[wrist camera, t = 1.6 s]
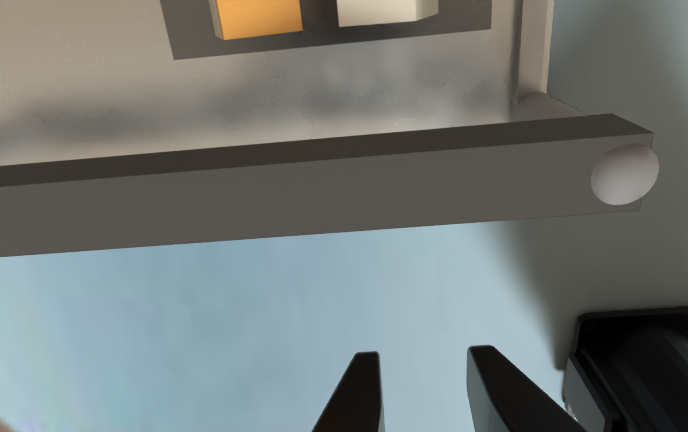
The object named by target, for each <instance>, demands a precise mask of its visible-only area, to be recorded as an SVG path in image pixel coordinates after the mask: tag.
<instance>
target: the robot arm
mask: <svg viewBox="0 0 688 432" xmlns="http://www.w3.org/2000/svg"><path fill="white" fill-rule="evenodd" d="M590 322H592V323H591V324H590V325H587V326H586V324H588V323H590ZM467 392H468V398H469V403H470V408H471V413H472V418H473V423H474V428H475V432H688V307H680V308H663V309H647V310H630V311H613V312H597V313H586V314H583V315H581V316H580V317H579V318H578V319H577V322H576V328H575V335H574V342H573V349H572V353H570V355H569V356H568V359H567V367H566V374H565V381H564V389H563V393H564V396H565V398H566V399H565V409H566V411H567V412H566V411H565V410H564V409H563V408H562V407H560V406H559V405H558V404H557V403H556V402H555V401H554V400H553V399H552V398H550V397H549V396H548V395H547V394H546V393H545V392H544V391H543V390H542V389H540V388H539V387H538V386H537V385H536V384H535V383H534V382H533V381H532V380H530V379H529V378H528V377H527V376H526V375H525V374H524V373H523V372H521V371H520V370H519V369H518V368H517V367H516V366H515V365H514V364H513V363H511V362H510V361H509V360H508V359H507V358H506V357H505V356H504V355H503V354H501V353H500V352H499V351H498V350H497V349H496V348H495V347H493V346H491V345H478V346H470V347H469V348H468V351H467ZM573 417H576V419H577V421H578V422H577V421H576V420H575V419H574V418H573ZM312 432H385V423H384V408H383V394H382V381H381V368H380V356H379V353H378V352H376V351H370V352H358V353H356V354H355V355H354V357H353V359H352V360H351V362H350V364H349V366H348V368H347V369H346V371H345V373H344V375H343V377H342V378H341V380H340V382H339V384H338V385H337V387H336V389H335V391H334V393H333V394H332V396H331V398H330V400H329V402H328V403H327V405H326V407H325V409H324V410H323V412H322V414H321V416H320V418H319V419H318V421H317V423H316V425H315V426H314V428H313V430H312Z"/></svg>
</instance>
